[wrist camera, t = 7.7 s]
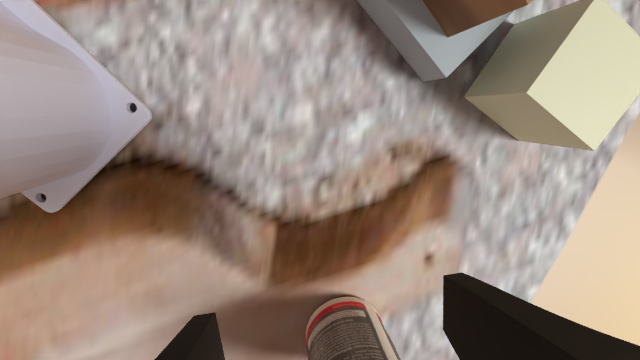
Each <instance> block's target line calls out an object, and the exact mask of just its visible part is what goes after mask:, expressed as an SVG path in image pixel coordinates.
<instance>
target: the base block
mask: <svg viewBox="0 0 640 360" xmlns="http://www.w3.org/2000/svg"><path fill="white" fill-rule="evenodd" d="M357 1H358V3H359V4H360V5H361V6H362V8H363V9H364V10H365V11H366V12H367V14H368V15H369V16H370V17H371V19H372V20H373V21H374V22H375V23H376V25H377V26H378V27H379V28H380V30H381V31H382V32H383V33H384V35H385V36H386V37H387V38H388V39H389V41H390V42H391V43H392V44H393V46H394V47H395V48H396V49H397V50H398V52H399V53H400V54H401V55H402V57H403V58H404V59H405V60H406V61H407V63H408V64H409V65H410V66H411V68H412V69H413V70H414V71H415V72H416V74H417V75H418V76H419V77H420V79H421V80H422V81H423V82H426V81H432V80H437V79H442V78H447V77H448V76H449V75H450V74H451V73H452V72H453V71H454V70H455V69H456V68H457V67H458V66H459V65H460V64H461V63H462V62H463V61H464V60H465V59H466V58H467V57H468V56H469V55H470V54H471V53H472V52H473V51H474V50H475V49H476V48H477V47H478V46H479V45H480V44H481V43H482V42H483V41H484V40H485V39H486V38H487V37H488V36H489V35H490V34H491V33H492V32H493V31H494V30H495V29H496V28H497V27H498V26H499V25H500V24H501V23H502V22H503V21H504V20H505V19H506V18H507V17H508V16H509V15H510V14H511V13H512V12H513V11H511V12H509V13H506V14H504V15H502V16H499V17H497V18H494V19H492V20H489V21H487V22H485V23H482V24H480V25H477V26H475V27H473V28H470V29H468V30H465V31H463V32H461V33H458V34H456V35H453V36H451V37H447V35H446V34H445V32H444V31H443V29H442V28H441V26H440V25H439V24H438V22H437V21H436V19H435V18H434V16H433V15H432V13H431V12H430V11H429V9H428V8H427V6H426V5H425V3H424V2H423V0H357Z"/></svg>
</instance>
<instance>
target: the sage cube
mask: <svg viewBox="0 0 640 360" xmlns="http://www.w3.org/2000/svg"><path fill="white" fill-rule="evenodd" d="M639 93H640V37H639V36H638V34H637V33H636V32H635V31H634V30H633V29H632V28H631V27H630V26H629V25H628V24H627V23H626V22H625V21H624V20H623V19H622V18H621V17H620V16H619V15H618V13H617V12H616V11H615V10H614V9H613V8H612V7H611V6H610V5H609V4H608V3H607V2H606V1H605V0H580V1H577V2H574V3H571V4H569V5H566V6H563V7H560V8H558V9H555V10H552V11H549V12H547V13H544V14H541V15H538V16H536V17H533V18H530V19H527V20H525V21H522V22H519V23H516V24H514V25H513V27H512V28H511V29H510V31H509V32H508V34H507V35H506V37H505V38H504V39H503V41H502V42H501V44H500V45H499V47H498V48H497V50H496V51H495V52H494V54H493V55H492V57H491V58H490V60H489V61H488V62H487V64H486V65H485V67H484V68H483V70H482V71H481V73H480V74H479V75H478V77H477V78H476V80H475V81H474V83H473V84H472V85H471V87H470V88H469V90H468V91H467V93H466V94H465V95H464V98H465V99H467V100H468V101H469V102H470V103H472V104H473V105H474V106H475V107H477V108H478V109H479V110H480V111H482V112H483V113H484V114H485V115H487V116H488V117H489V118H491V119H492V120H493V121H494V122H496V123H497V124H498V125H499V126H501V127H502V128H503V129H504V130H506V131H507V132H508V133H509V134H511V135H512V136H513V137H514V138H516V139H517V140H518V141H524V142H532V143H539V144H547V145H554V146H562V147H570V148H577V149H585V150H592V151H595V149H596V148H597V147H598V146H599V144H600V143H601V142H602V140H603V139H604V138H605V137H606V135H607V134H608V133H609V132H610V130H611V129H612V128H613V126H614V125H615V124H616V123H617V121H618V120H619V119H620V117H621V116H622V115H623V114H624V112H625V111H626V110H627V108H628V107H629V106H630V105H631V103H632V102H633V101H634V100H635V98H636V97H637V96H638V94H639Z"/></svg>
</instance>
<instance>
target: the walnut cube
mask: <svg viewBox="0 0 640 360" xmlns="http://www.w3.org/2000/svg"><path fill="white" fill-rule="evenodd" d="M531 1H532V0H423V2H424V3H425V5H426V6H427V8H428V9H429V11H430V12H431V13H432V15H433V16H434V18H435V19H436V21H437V22H438V24H439V25H440V26H441V28H442V29H443V31H444V32H445V34H446V35H447V37H451V36H453V35H456V34H458V33H461V32H463V31H465V30H468V29H470V28H473V27H475V26H477V25H480V24H482V23H485V22H487V21H489V20H492V19H494V18H497V17H499V16H502V15H504V14H506V13H509V12H511V11H514V10H516V9H518V8H521V7H523V6H526V5H528V4H529V3H530V2H531Z"/></svg>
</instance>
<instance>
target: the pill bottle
mask: <svg viewBox="0 0 640 360" xmlns="http://www.w3.org/2000/svg"><path fill="white" fill-rule="evenodd" d="M306 341H307V352H308V360H401V359H400V357H399V355H398V353H397V351H396V349H395V347H394V344H393V342H392V341H391V339H390V336H389V334H388V332H387V330H386V328H385V326H384V324H383V322H382V320H381V318H380V316H379V314H378V313H377V311H376V310H375V308H374V307H373V306H372V305H371V304H369V303H368V302H366V301H364V300H362V299H359V298H356V297H340V298H335V299H332V300H330V301H328V302H326V303H324V304H323V305H321V306H320V307H319V308H318V309H317V310H316V311H315V312H314V313H313V315H312V316H311V318H310V320H309V322H308V325H307V328H306Z"/></svg>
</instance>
